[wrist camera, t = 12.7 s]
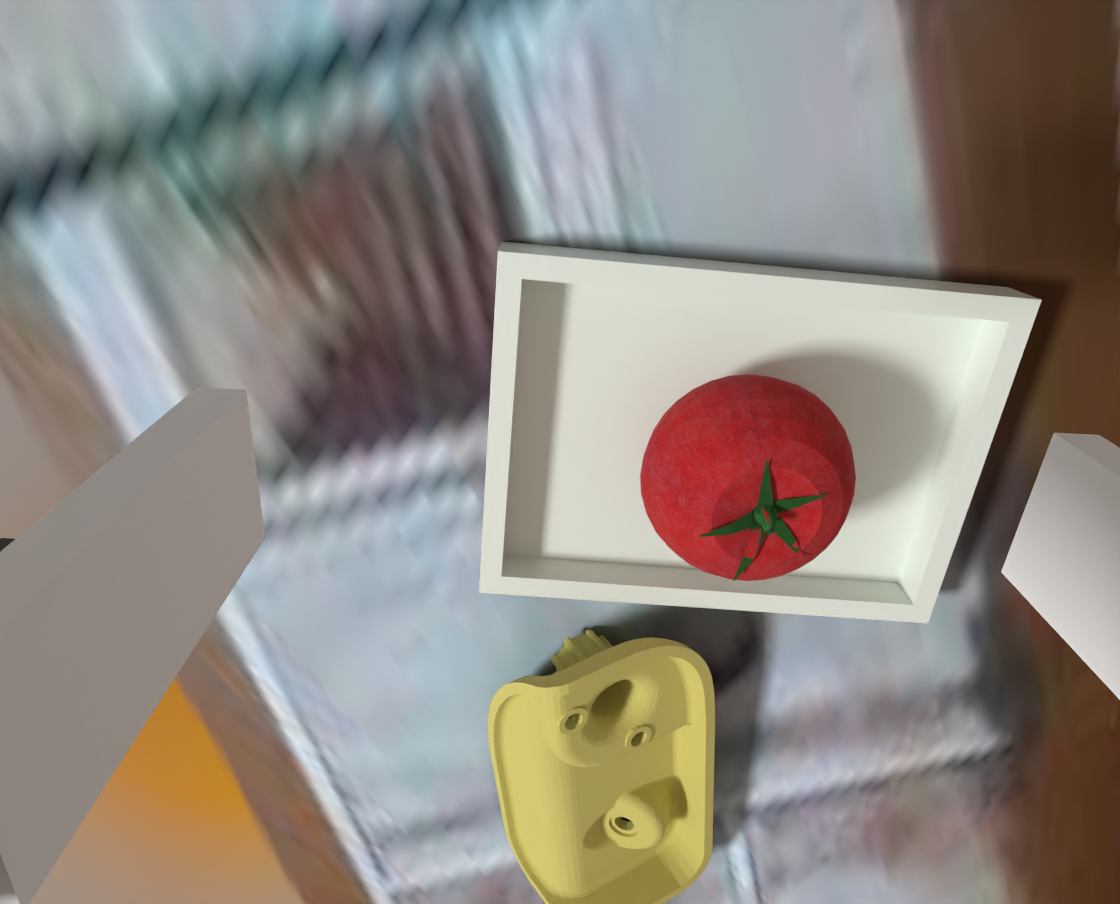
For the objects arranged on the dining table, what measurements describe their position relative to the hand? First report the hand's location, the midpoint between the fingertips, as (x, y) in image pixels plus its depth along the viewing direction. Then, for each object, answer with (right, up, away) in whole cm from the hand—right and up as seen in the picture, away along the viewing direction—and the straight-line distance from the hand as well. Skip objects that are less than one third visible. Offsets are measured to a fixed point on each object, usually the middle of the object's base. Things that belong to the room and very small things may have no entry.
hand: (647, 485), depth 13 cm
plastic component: (+1, -15, +31) cm, 34 cm away
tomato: (+6, +1, +23) cm, 23 cm away
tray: (+6, +1, +23) cm, 24 cm away
